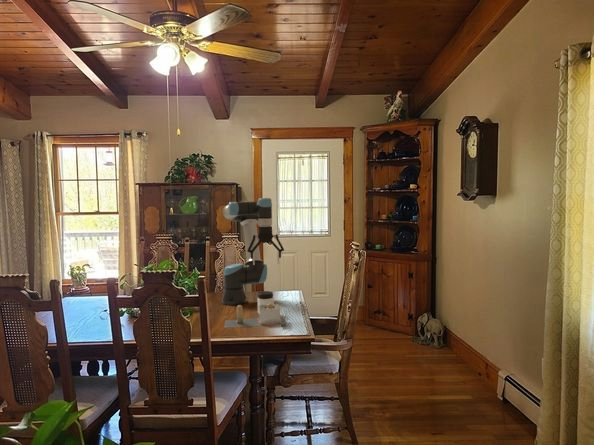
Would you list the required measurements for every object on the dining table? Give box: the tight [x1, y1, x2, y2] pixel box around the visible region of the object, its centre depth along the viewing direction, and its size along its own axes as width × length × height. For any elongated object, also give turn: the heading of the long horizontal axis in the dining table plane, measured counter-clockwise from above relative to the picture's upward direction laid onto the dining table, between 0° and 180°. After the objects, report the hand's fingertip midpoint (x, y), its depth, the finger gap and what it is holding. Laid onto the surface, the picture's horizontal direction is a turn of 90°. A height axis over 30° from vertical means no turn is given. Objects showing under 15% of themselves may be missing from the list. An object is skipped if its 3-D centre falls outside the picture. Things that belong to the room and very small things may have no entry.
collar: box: [259, 303, 281, 324], centre depth 214 cm, size 10×10×7 cm
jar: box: [256, 290, 275, 315], centre depth 231 cm, size 9×8×12 cm
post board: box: [223, 304, 287, 329], centre depth 213 cm, size 30×14×10 cm, turn 96°
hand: (266, 264), depth 236 cm, fingers open, 13 cm apart
